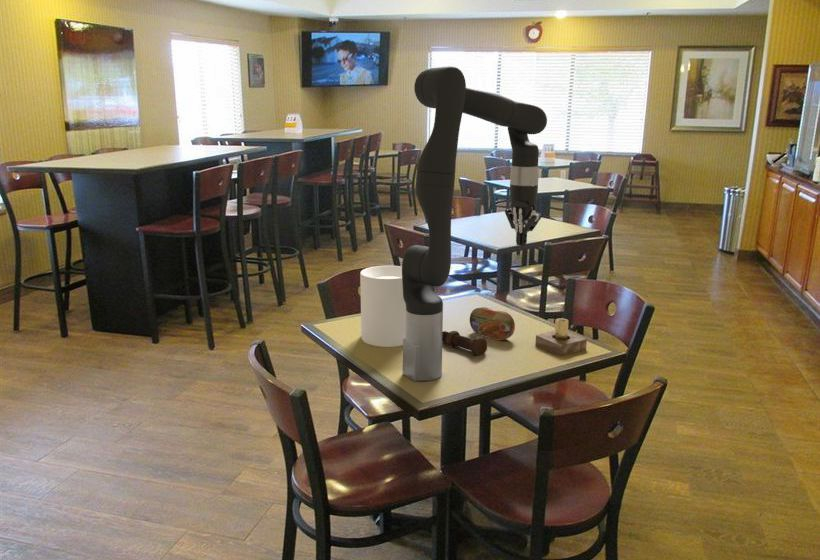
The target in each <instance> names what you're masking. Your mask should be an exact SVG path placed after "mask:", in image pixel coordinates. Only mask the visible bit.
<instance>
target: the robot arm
mask: <svg viewBox="0 0 820 560" xmlns="http://www.w3.org/2000/svg"><path fill="white" fill-rule="evenodd" d="M413 88H414V94H415V97H416V99H417V101H418V102H419V103H420V104H421V105H423V106H424V107H427V108H429V109H435V113H434V123H433V127H432V131H431V134H430V136H429V138H428V140H427V142H426V144H425V146H424V148H423V150H422V152H421V154H420V157H419V159H418V162H417V166H416V174H415V178H416V179H415V195H416V199H417V201H418V204H419V207H420V209H421V211H422V213H423V215H424V218H425V220H426V223H427V227H428V246H426V245H425V246H424V245H419V244H415V245H411V246H409V247H408V248H407V249H406V250H405V252H404V255H403V258H402V262H401V267H402V284H403V298H404V301H405V304H406V338H404V339H403V345H402V375H404V376H406V377H407V378H409V379H411V380H412V381H413V382H417V381H419V382H420V381H421V382H423V381H424V382H427V381H433V380H437V379H439V378H441V377H442V375H443V374H442V373H443V342H442V332H443V329H444V328H443V318H444V302H443V301H444V300H443V298H441V296H439V295H438V294H437V293H435V291H434V290H432V289H431V287H437V288H438V287H442V286H443V285H444V284H445V283H446V282H447V280H448V278H449V276H450V272H451V268H452V267H451V265H452V212H453V201H454V200H453V198H454V193H455V184H456V183H455V181H456V180H455V179H456V166H457V165H456V164H457V156H458V153H457V152H458V146H459V145H458V144H459V135H460V128H461V122H462V116H463V114H465V115H468V116H472V117H475V118H478V119H480V120H482V121H486V122H489V123H491V124H494V125H497V126H500V127H505V128H507V132H508V137H509V142H510V146H511V151H512V153H511V170H510V175H509V176H510V177H509V178H510V179H509V201H511V203H510V208H508V209H505V210H504V214H505V215H506V219H507V221H508V223H509V225H510V228H511V230H514V231H515V232H516V233H515V234H516V235H515V243H516V246H519V247H525V246H526V245H527V241H528V239H527V238H528V233H529V232H533V230H534V229H535V228H536V226H537V224H538V223H540V220H541V219H542V215H541V214H538V213H537V212H536V210H537V209H536V205H535V203H536V201H537V200H538V194H539V193H538V192H539V191H538V190H539V155H540V154H539V151H540V149H539V146H538V145H537V144H535V143H533V142H531V141H530V139H529V135H537V134H540V133H542V132H543V131H544V130H545V128H546V127H547V124H548V123H547V122H548V116H547V115H546V112H545V111H544V110H543V109H542V108H541V107H539V106H536V105H534V104H529V103H524V102H520V101H515V100H512V99H511V98H508V97H507V96H503V95H500V94H497V93H495V92H491V91H486V90H479V89H475V88H470V87H467V83H466V78H465V76H464V73H463V71H462V70H461V69H459V67H456V66H452V65H449V66H440V67H431V68H428V69H425V70H422V71H421V72H420V73H419V74H418V75H417V77H416V78H415V82H414V87H413Z"/></svg>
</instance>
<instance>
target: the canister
mask: <svg viewBox="0 0 820 560" xmlns="http://www.w3.org/2000/svg"><path fill="white" fill-rule="evenodd" d="M359 276H360V277H359V280H360V281H359V283H360V326H361V327H360V328H361V331H360V332H361V333H360V334H361V335H360V336H361V340H362V342H364V343H365V344H367V345H371V346H375V347H381V348H382V347H383V348H384V347H386V348H389V347H390V348H391V347H395V348H396V347H401V346H402V347H403V339H404V338H406V304H405V301H404V298H403V284H402V265H401V266H399V265H377V266H370V267H366V268H364V269H362V270H361V271H360V273H359Z"/></svg>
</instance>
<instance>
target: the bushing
mask: <svg viewBox="0 0 820 560" xmlns="http://www.w3.org/2000/svg"><path fill="white" fill-rule="evenodd" d="M554 331H555V336H554V339H557V340H567V337H568V332H569V319H566V318H561V317H560V318H556V319H555V322H554Z"/></svg>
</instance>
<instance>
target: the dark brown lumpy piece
mask: <svg viewBox="0 0 820 560" xmlns="http://www.w3.org/2000/svg"><path fill="white" fill-rule="evenodd" d="M442 343H445V344H446V345H447V346H448V348H455V347H459V348H462V349H465V350H468V351H471V353H472V356H474V357H476V356H478V357H481V355H482V356H483V354H484V355H485V354H486V352H487V350H488V349H487V348H488V342H487V339H486V338H485V336H482V335H479V336H478V337H475V338H470V337H468V336H463V335H461V334H460V333H459V331H457V330H452V331H446V330H444V331H442Z"/></svg>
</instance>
